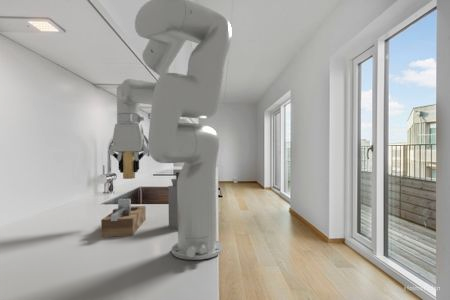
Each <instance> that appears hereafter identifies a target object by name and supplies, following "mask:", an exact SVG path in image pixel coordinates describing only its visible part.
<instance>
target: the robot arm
mask: <svg viewBox="0 0 450 300" xmlns="http://www.w3.org/2000/svg"><path fill="white" fill-rule="evenodd" d="M134 30H135V32H136V33H137V35H138V36H139V37H141V38H144V39H147V40H148V42H147V44H146V46H145V48H144V50H143V51H142V61H143V62H144V64H145V65H146V66H147V67H148V68H149V69H150V70H151V71H153V72H154V73H156V74H157V75H159V77H158V78H157V80H156V82H151V81H144V80H139V79H134V78H133V79H132V78H126V79H123V81H122V83H120V84H119V85H117V86H116V123H115V124H114V128H113V135H112V145H111V146H110V148H109V149H108V151H107V152H108V153H107V154H109V155H111V156H113V157H114V159H116V160H117V162H118V171H119V173H122V174H123V152H125V151H130V152H134V157H135V161H134V172H135V173H139V170H140V161H141V160H142V159H143V157H144V156H146V155H148V154H149V156H151V157H150V158H152V159H153V160H154V161H155V162H157V163H159V164H176V163H177V164H181V163H183V166H182V167H181V169H180V171H179V172H180V173H179V176H178V180H177V205H178V228H177V242H176V243H175V244H173V245H172V247H171V254H172V255H173V257H176V258H179V259H182V260H185V261H186V260H188V261H200V260H207V259H211V258H215V257H217V256H219V255H220V254H222V252H223V250H224V247H223V244H222V242H220V241H218V240H217V198H216V197H217V195H216V192H217V191H216V190H217V189H216V187H217V185H216V184H217V183H216V181H217V180H216V179H217V178H216V175H217V171H216V170H217V161H218V156H219V150H220V149H219V148H220V140H219V139H220V138H219V136H218V133H217V131H216V130H215V129H214V128H212V127H211V126H209V125H207V124H202V123H195V122H193V123H192V122H179V121H180V119H181V118H191V119H210V118H212V117H213V116H215V114H216V113H217V111H218V108H219V104H220V103H219V102H220V98H221V93H222V92H221V91H222V83H223V78H224V71H225V69H224V68H225V63H226V59H227V56H228V52H229V49H230V48H231V42H232V37H233V36H232V35H233V33H232V32H233V31H232V27H231V24H230V22H229V20H228V18H226V16H223V15H222V14H221V13H219V12H217V11H215V10H213V9H211V8H209V7H207V6H204V5H201V4H199V3H196V2H194V1H192V0H148V1H147V2H145V3H144V4H143V5H142V6H141V7H140V8H139V10H138V11H137V14H136V15H135V19H134ZM187 41H188V42H192V43H196V44H197V45H196V46H195V48H194V49H193V50H192V51H191V53H190V55H189V58H188V64H187V70H186V71H187V72H186V74H183V73H177V72H171V70H170V67H171V65H172V64H173V62H174V60H175V58H176V57H177V56H178V54H179V52H180V51H181V49H182V48H183V46H184V45H185V44H186V42H187ZM140 104H143V105H151V109H150V119H149V127H148V128H149V129H148V138H147V139H148V140H147V141H148V142H147V143H148V147H147V145H146V144H145V134H144V128H143V124H142V123H141V122H143V121H144V120H145V119H144V116H141V115H140Z"/></svg>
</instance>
